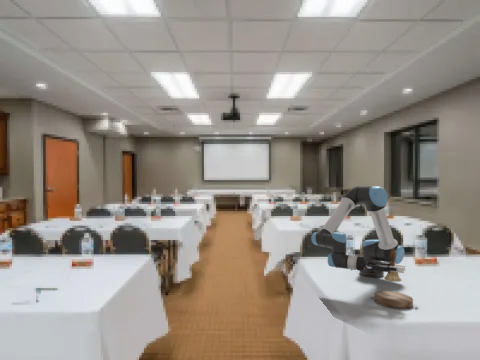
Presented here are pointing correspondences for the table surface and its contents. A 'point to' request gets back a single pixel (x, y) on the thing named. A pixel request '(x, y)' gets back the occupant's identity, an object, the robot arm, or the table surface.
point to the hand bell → (393, 275)
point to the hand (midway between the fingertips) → (404, 269)
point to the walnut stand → (393, 299)
